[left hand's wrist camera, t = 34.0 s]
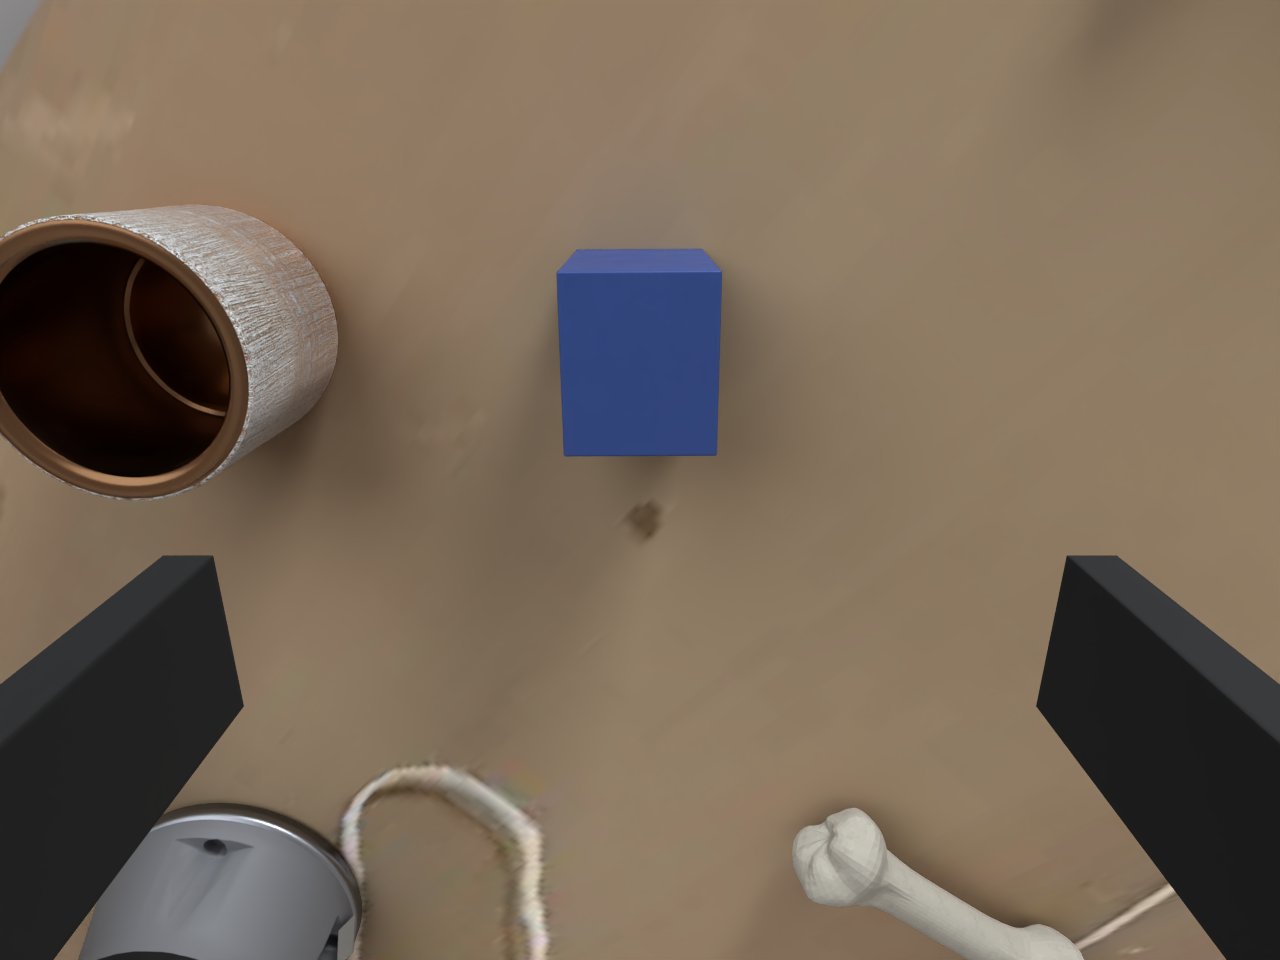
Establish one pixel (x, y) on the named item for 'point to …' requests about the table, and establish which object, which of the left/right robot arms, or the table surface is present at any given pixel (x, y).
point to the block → (639, 352)
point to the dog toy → (908, 893)
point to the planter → (156, 345)
